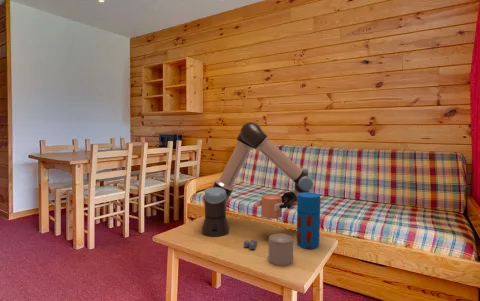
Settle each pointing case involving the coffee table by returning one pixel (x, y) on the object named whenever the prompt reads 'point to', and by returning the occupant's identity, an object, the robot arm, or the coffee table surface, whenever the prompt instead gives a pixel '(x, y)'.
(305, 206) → the thermos
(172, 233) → the coffee table surface
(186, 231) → the coffee table surface
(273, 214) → the octagonal lidded canister
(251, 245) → the marble
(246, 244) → the marble
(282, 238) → the brown octagonal jar
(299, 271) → the coffee table surface
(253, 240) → the marble
